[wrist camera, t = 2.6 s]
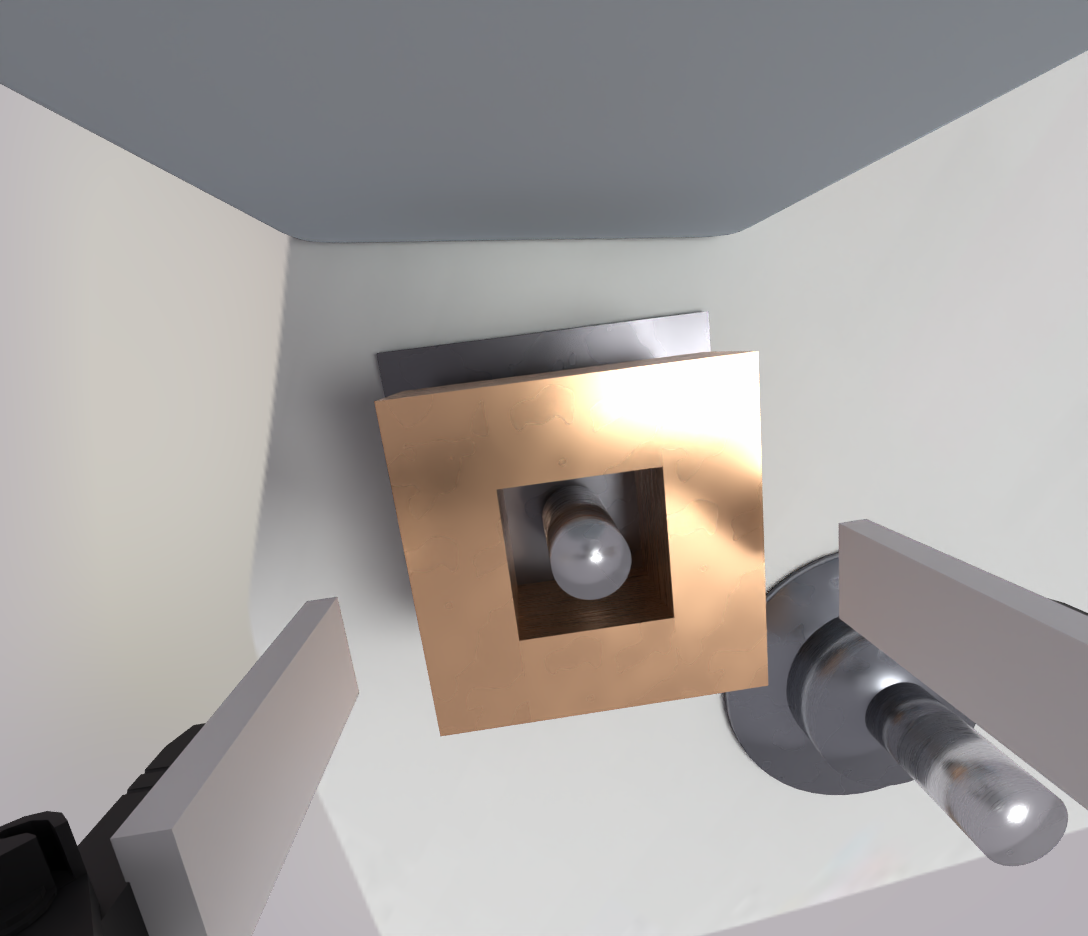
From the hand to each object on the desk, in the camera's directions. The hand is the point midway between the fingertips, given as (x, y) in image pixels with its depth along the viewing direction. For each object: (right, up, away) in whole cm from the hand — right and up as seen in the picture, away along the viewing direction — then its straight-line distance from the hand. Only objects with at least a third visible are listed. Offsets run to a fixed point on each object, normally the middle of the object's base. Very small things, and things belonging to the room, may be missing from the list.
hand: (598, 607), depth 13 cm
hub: (+15, -7, +13) cm, 21 cm away
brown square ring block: (0, +2, +6) cm, 7 cm away
